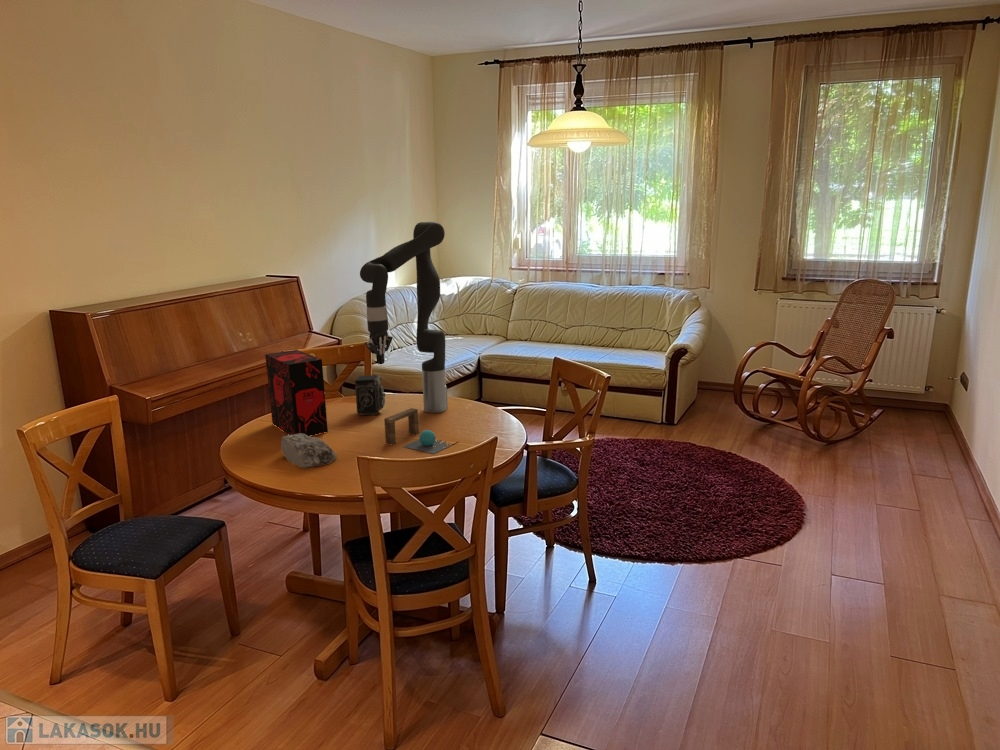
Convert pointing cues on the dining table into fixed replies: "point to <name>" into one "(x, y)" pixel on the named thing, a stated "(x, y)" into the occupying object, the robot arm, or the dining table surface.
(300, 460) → the decorative stone
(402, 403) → the dining table surface
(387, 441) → the bridge
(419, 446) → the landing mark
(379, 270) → the robot arm
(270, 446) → the dining table surface
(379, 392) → the camera
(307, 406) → the box
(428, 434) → the ball
